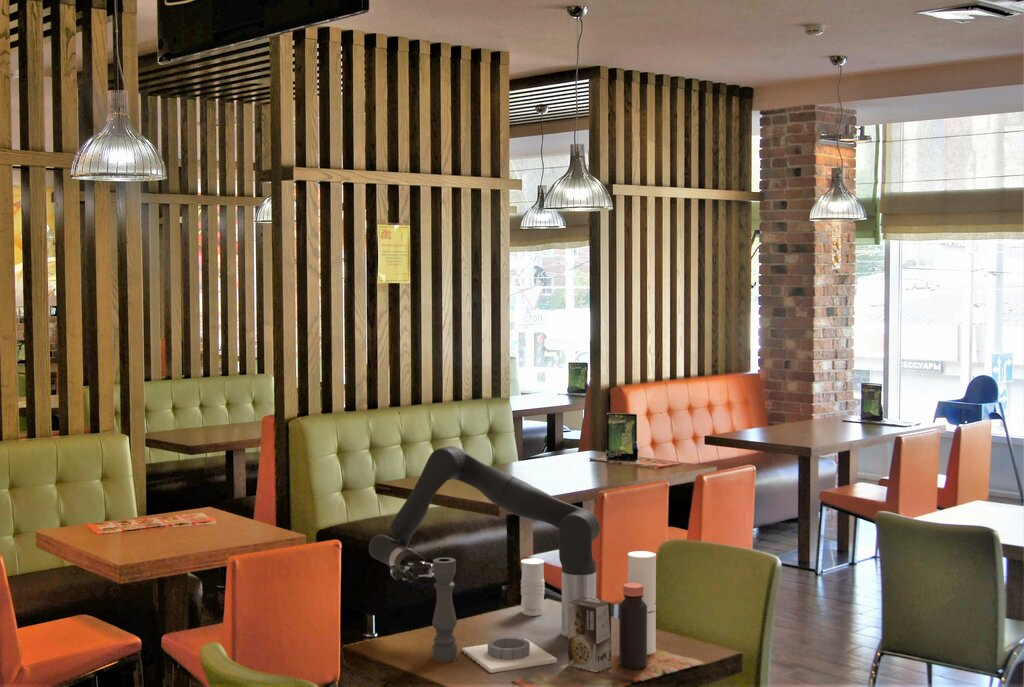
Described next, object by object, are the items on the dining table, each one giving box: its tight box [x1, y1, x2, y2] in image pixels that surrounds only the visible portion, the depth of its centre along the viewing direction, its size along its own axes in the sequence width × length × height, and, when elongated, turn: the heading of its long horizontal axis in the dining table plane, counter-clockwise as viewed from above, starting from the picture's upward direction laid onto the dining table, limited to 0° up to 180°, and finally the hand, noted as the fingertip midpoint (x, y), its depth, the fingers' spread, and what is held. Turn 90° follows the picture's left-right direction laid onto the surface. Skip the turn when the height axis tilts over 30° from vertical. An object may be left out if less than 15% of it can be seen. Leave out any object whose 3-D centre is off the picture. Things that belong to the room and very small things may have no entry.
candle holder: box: [431, 557, 458, 663], centre depth 285 cm, size 6×6×25 cm
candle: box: [520, 557, 546, 617], centre depth 325 cm, size 7×7×15 cm
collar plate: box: [461, 636, 558, 674], centre depth 286 cm, size 18×18×4 cm
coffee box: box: [567, 597, 612, 672], centre depth 279 cm, size 9×6×16 cm
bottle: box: [618, 582, 648, 670], centre depth 279 cm, size 7×7×20 cm
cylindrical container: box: [627, 550, 657, 656], centre depth 291 cm, size 7×7×25 cm
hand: (427, 577), depth 295 cm, fingers open, 8 cm apart
